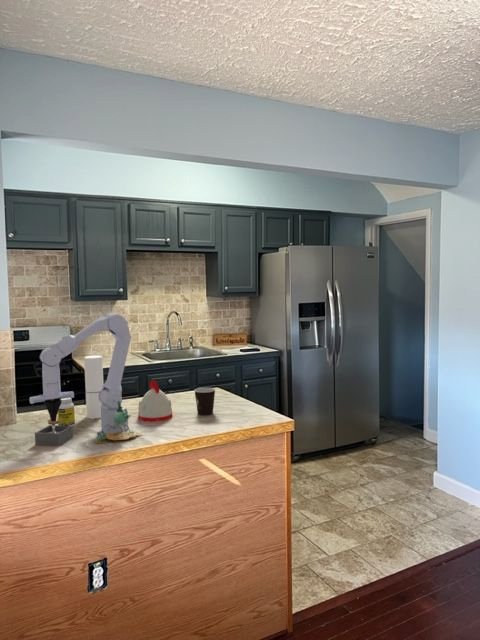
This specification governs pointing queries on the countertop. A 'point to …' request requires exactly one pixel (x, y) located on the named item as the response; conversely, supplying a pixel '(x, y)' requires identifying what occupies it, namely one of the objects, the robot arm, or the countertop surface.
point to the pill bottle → (66, 413)
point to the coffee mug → (205, 400)
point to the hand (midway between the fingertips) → (53, 420)
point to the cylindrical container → (93, 385)
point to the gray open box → (53, 436)
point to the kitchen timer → (154, 405)
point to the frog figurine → (119, 418)
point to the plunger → (53, 426)
